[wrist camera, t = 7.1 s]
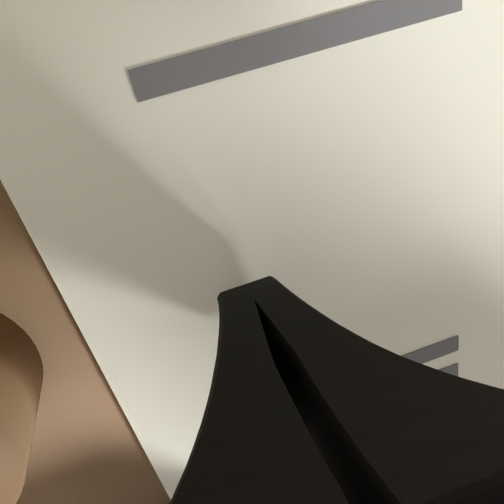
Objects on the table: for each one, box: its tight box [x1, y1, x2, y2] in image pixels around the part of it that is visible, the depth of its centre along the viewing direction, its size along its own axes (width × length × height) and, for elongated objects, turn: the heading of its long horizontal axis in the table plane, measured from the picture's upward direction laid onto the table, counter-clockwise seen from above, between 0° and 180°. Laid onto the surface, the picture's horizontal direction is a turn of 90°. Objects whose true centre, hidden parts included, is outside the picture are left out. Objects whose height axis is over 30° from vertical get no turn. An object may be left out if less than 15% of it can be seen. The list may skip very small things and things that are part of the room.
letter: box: [0, 0, 504, 500], centre depth 12 cm, size 12×16×1 cm
